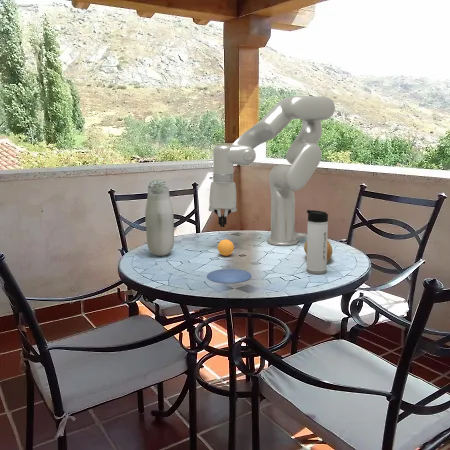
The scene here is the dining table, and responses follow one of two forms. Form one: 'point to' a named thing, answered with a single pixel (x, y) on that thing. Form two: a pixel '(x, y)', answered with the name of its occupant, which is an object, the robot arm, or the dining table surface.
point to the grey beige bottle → (159, 219)
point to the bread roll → (329, 250)
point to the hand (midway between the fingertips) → (222, 226)
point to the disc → (229, 275)
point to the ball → (225, 247)
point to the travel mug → (317, 242)
